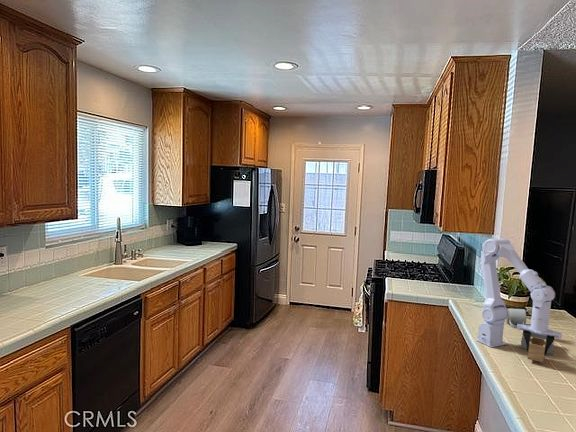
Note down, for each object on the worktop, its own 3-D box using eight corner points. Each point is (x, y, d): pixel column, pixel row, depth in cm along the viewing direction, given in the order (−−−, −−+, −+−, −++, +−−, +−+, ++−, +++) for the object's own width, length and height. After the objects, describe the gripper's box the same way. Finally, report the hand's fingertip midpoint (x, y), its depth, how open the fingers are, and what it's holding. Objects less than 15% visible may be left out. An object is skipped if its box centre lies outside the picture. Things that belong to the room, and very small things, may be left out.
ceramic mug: (504, 320, 204) (505, 305, 203) (523, 322, 201) (524, 307, 200) (507, 327, 194) (509, 311, 193) (527, 330, 191) (529, 314, 190)
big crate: (552, 355, 164) (553, 344, 163) (520, 348, 170) (521, 337, 169) (553, 345, 174) (554, 334, 174) (523, 338, 180) (524, 328, 180)
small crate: (543, 362, 153) (544, 347, 153) (527, 358, 156) (529, 343, 156) (544, 354, 161) (546, 339, 160) (529, 350, 164) (531, 336, 163)
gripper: (517, 316, 158) (514, 350, 159) (563, 325, 150) (558, 361, 151) (519, 311, 164) (516, 344, 165) (563, 320, 155) (559, 354, 157)
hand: (536, 352), depth 158 cm, fingers closed on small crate, 5 cm apart
